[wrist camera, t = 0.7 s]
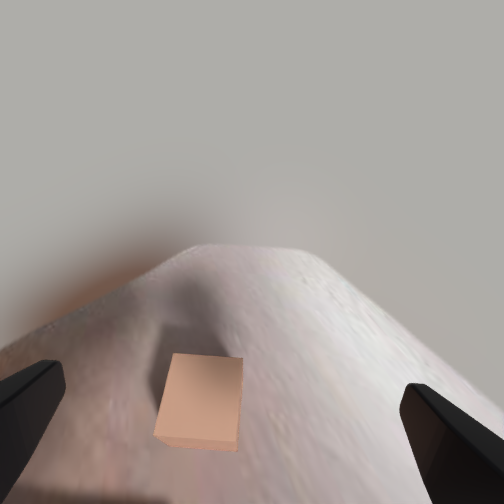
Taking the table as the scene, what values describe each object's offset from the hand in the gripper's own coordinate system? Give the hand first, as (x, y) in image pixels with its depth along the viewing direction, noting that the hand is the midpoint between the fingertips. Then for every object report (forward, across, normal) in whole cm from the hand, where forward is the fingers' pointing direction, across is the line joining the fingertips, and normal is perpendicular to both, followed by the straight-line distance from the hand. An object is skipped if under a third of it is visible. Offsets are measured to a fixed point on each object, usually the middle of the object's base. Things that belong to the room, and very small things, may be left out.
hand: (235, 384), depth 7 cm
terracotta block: (+11, +2, +14) cm, 18 cm away
